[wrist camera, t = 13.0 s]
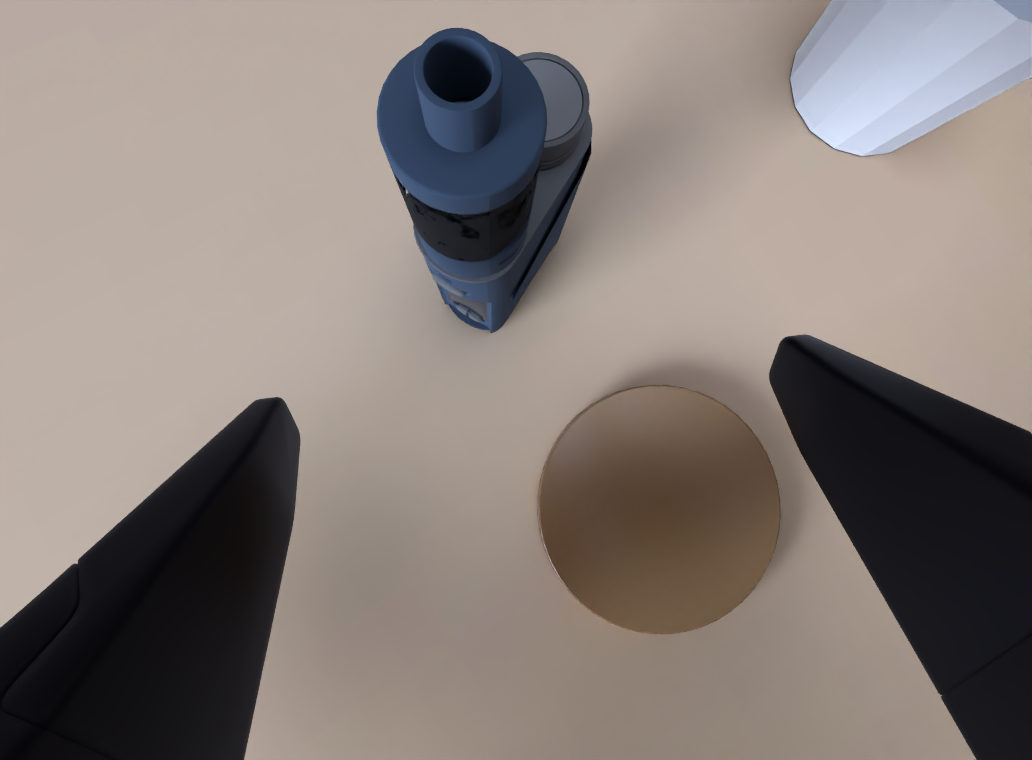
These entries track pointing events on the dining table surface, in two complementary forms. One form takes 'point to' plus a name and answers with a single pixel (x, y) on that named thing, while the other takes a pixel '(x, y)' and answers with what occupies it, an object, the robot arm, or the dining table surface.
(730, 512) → the round bronze-colored metal disc
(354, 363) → the dining table surface
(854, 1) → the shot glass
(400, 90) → the vaping device
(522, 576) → the dining table surface
